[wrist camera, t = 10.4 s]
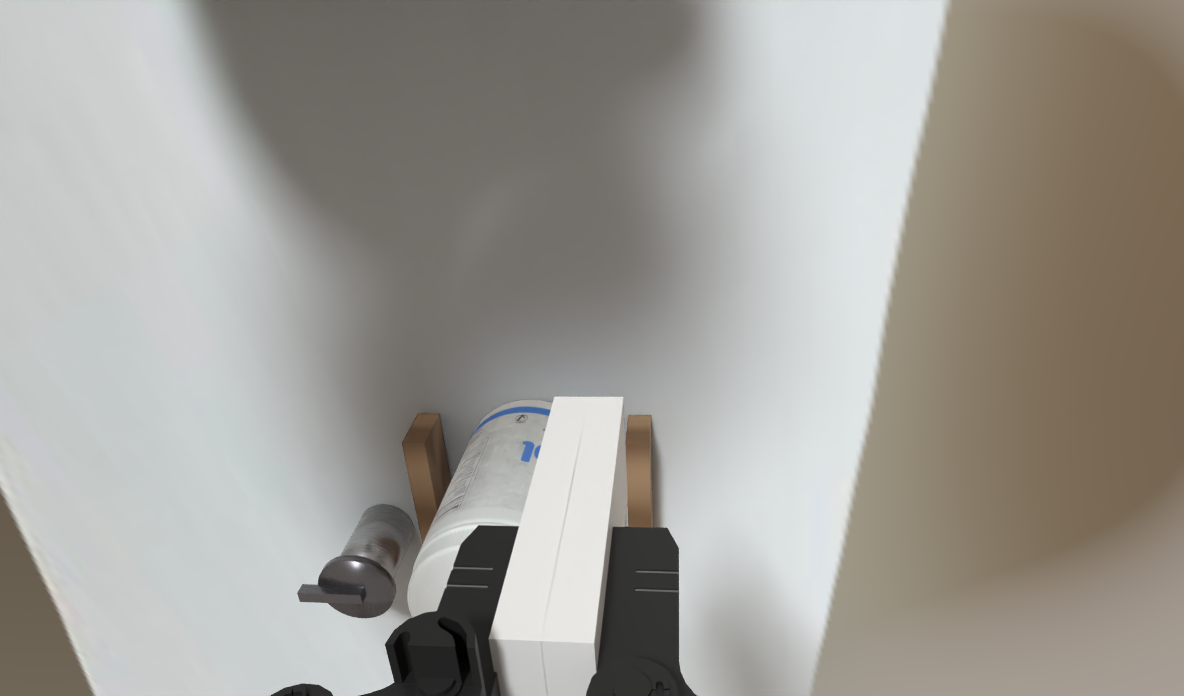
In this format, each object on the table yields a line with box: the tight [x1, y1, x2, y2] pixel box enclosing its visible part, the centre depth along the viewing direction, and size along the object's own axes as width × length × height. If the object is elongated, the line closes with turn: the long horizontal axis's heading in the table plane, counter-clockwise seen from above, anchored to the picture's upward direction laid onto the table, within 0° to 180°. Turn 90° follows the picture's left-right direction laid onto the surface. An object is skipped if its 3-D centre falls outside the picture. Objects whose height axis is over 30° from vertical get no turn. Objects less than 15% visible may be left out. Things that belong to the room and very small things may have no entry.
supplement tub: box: [407, 400, 553, 618], centre depth 47 cm, size 10×10×15 cm
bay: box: [402, 414, 653, 543], centre depth 53 cm, size 12×16×4 cm
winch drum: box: [297, 505, 414, 618], centre depth 55 cm, size 5×6×7 cm
